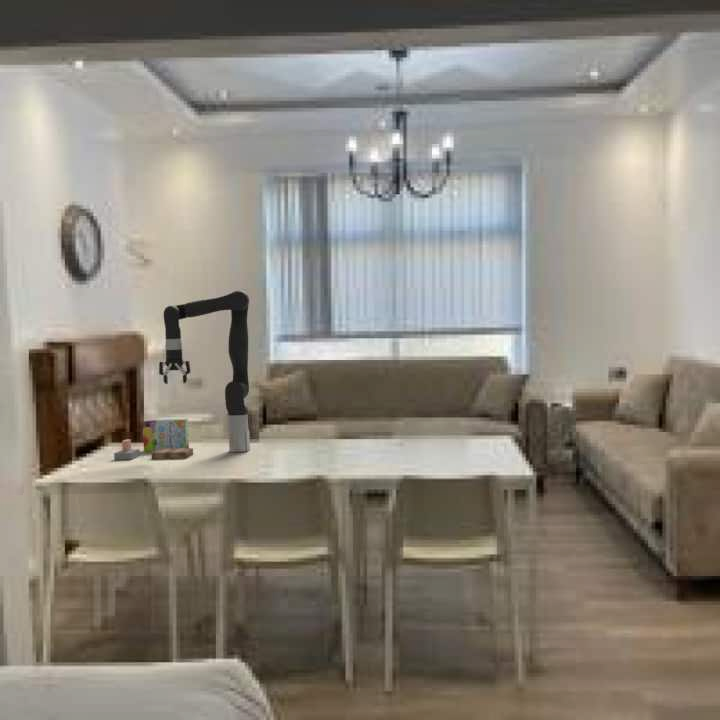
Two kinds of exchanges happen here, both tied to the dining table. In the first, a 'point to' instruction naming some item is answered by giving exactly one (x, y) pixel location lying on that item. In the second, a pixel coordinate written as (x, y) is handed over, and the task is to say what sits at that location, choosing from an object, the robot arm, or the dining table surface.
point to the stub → (126, 451)
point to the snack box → (165, 434)
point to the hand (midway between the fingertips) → (175, 383)
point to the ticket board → (172, 453)
